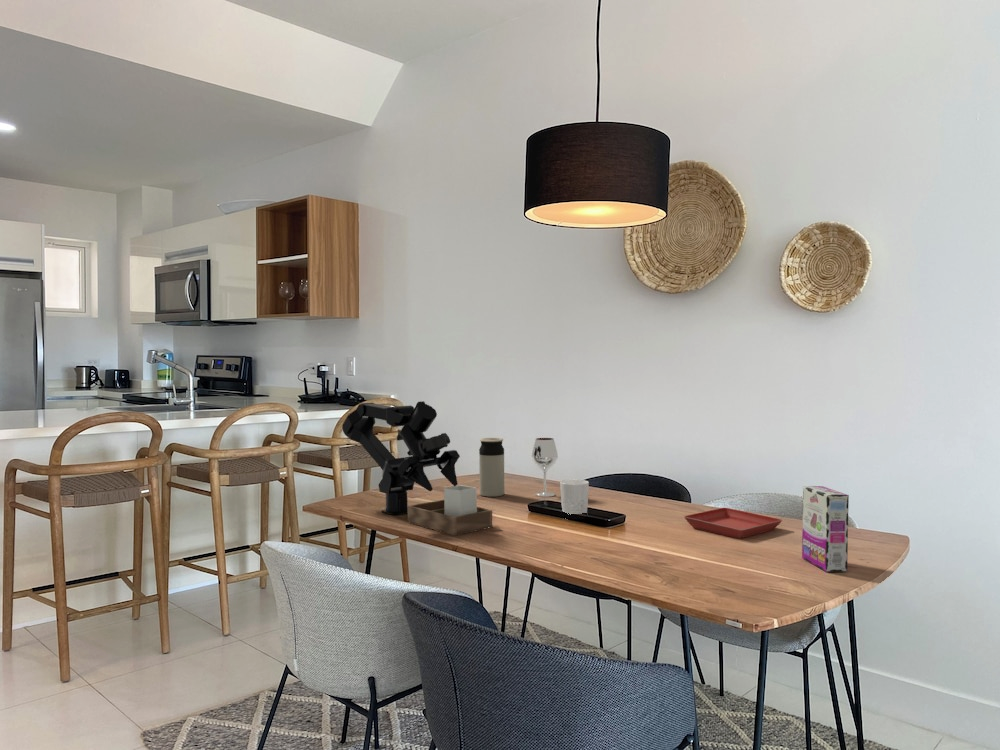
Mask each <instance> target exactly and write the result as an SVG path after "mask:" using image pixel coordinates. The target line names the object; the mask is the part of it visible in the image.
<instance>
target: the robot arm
mask: <svg viewBox="0 0 1000 750" xmlns="http://www.w3.org/2000/svg"><path fill="white" fill-rule="evenodd" d="M437 413H438V412H437V411H436V409H435V408H434V407H432V406H431V405H429V404H427V403H426V402H425V401H421V400H420V401H418V402H417V403H416V404H415V407H414V406H412V405H400V406H399V405H397V406H389V405H383V404H378V403H374V402H361V403H360V404H358V405H357V407H356V409H354V410H353V411H352V412H350V413H349V414H347V416H346V418H345V419H344V421H343V423H342V427H341V428H342V432H343V434H344V435H345V437H347V438H348V439H349V440H351V441H352V442H356V443H359V444H360V446H362V448H363V449H364V450H365V451H366V452H367V454H369V455H370V457H371V458H372V459H373V460H374V461H375V463H376V464H377V465H378V466H379V467H380V468H381V470H382V479H381V480H380V482H378V489H379V490H378V491H379V492H380V493H383V494H385V509H381V512H382V513H384V514H388V515H392V516H397V515H401V514H406V513H407V514H408V506H409V505H408V491H413V489H414V486H415V484H417V485H419V486H421V487H422V488H424V489H425V490H427V491H429V492H432V491H433V487H432V484H431V482H430V480H429V478H428V476H427V474H426V473H425V471H424V469H425V468H426V467H427V468H428V467H433V466H437V468H438V469H439V470H440V471H439V472H440V473H441V474H442V475H443V476H444V477H445V479H447V481H448V482H449V483H451V485H453V486H458V479H457V474H456V467H455V465H456V463H457V462H458V460H459V458H460V457H461V456H460V454H459V452H458V450H456V449H451V450H445V451H443V453H442V454H441V455H440V456H438V455H439V454H440V453H441V450H442V449H444V448H447V447H448V446H449V445H450V443H451V439H450V436H449V435H448V434H447V433H446V432H444V433H443V432H442V433H440V434H438V435H435V436H432V437H429V438H428V437H426V436H425V434H424V433H425V432H427V431H428V430H429V428H430V427H431V425H432V424H433V423H434V421H435V419H436V417H437V415H438V414H437ZM376 419H378V420H381V421H385V422H386V424H387V425H389V426H391V427H393V428H395V427H401V429H400V430H398V431H397V436H396V441H403V442H404V444H405V445H406V447H407V449H408V451H407V455H408V456H405V457H395V456H394V455H393V454H392V452H391V451H390V450H389V449H388V448H387V447H386V446H385V445H384V443H382V441H381V440H380V439H379V438H378V437H377V436H376V434H375V433H374V426H375V424H376Z"/></svg>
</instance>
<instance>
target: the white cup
mask: <svg viewBox="0 0 1000 750" xmlns="http://www.w3.org/2000/svg"><path fill="white" fill-rule="evenodd" d="M589 483H590V482H589V481H588V480H586V479H585V480H584V479H576V478H575V479H564V480H561V481H560V482H559V485H560V486H559V487H560V501H561V508H562V509H561V510H562V511H563V512H565V513H567V514H568V513H569V514H570V515H571V514H582V513H587V514H588V506H589V505H588V504H589V485H590V484H589ZM569 514H568V515H569ZM565 520H567V519H566V518H565Z"/></svg>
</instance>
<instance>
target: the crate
mask: <svg viewBox="0 0 1000 750" xmlns="http://www.w3.org/2000/svg"><path fill="white" fill-rule="evenodd" d="M408 522H410V523H409V524H411V523H413V524H412V525H415V524H417V525H416V526H418V525H420V527H422V526H423V527H422V528H425V527H427V528H426V529H429V528H431V529H430V530H432V529H434V530H433V531H436V530H437V532H439V531H441V532H440V533H443V532H444V533H443V534H446V533H448V534H447V535H450V534H451V536H453V535H455V536H459V535H458V534H460V535H462V534H461V533H464V534H467V533H466V532H469V533H472V532H471V531H473V532H476V531H475V530H478V531H480V529H482V530H485V529H484V528H486V529H489V528H488V527H491V528H493V510H492V509H488V508H484V507H480V506H477V513H472V514H467V515H462V516H457V517H452V516H448V515H444V499H438V500H434V501H429V502H423V503H417V504H412V505H411V504H410V505H408V513H407V523H408Z"/></svg>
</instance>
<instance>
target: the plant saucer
mask: <svg viewBox="0 0 1000 750" xmlns="http://www.w3.org/2000/svg"><path fill="white" fill-rule="evenodd" d="M683 517H684V520H686V521H687V523H688V524H689V525H690V526H691V527H692V528H693V529H697V530H700V531H701V530H702V531H705V532H710V533H713V534H717V535H723V536H727V537H731V538H734V539H743V538H744V539H745V538H747V537H751V536H756V535H759V534H760V535H761V534H763V533H767V532H770V531H773V530H775V529H776V528H777V527H778V526H779V525H780V524H781V523H782V521H783V520H782V518H781V519H780V518H776V517H772V516H767V515H763V514H758V513H753V512H749V511H743V510H740V509H733V508H729V507H720V508H716V509H711V510H706V511H701V512H698V513H692V514H688V515H684V516H683Z"/></svg>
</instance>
